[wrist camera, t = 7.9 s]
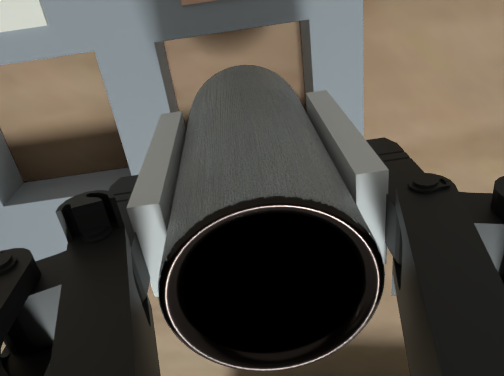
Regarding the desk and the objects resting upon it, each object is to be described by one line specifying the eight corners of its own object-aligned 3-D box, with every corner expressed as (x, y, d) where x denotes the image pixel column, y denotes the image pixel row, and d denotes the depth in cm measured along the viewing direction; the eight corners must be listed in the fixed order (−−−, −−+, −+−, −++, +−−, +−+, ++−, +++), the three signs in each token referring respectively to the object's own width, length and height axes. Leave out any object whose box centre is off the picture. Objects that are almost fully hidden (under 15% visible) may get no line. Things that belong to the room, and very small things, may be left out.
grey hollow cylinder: (310, 155, 18) (396, 348, 9) (208, 181, 19) (197, 393, 10) (288, 49, 16) (374, 170, 7) (174, 81, 17) (119, 233, 8)
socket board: (17, 258, 25) (-4, 289, 23) (-135, -48, 18) (-190, -48, 15) (351, 209, 25) (365, 235, 23) (344, -119, 18) (363, -130, 15)
